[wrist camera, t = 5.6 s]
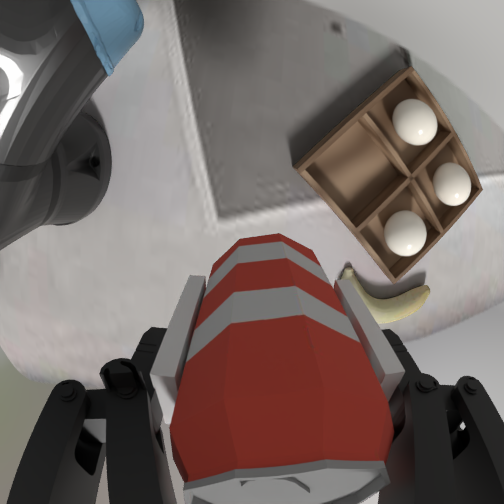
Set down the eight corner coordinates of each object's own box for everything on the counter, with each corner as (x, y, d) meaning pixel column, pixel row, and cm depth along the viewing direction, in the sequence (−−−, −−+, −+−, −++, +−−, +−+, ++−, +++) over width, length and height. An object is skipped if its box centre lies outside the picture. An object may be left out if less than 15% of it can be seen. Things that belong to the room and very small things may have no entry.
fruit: (406, 319, 40) (415, 330, 37) (326, 309, 38) (332, 322, 35) (424, 281, 37) (435, 291, 34) (344, 264, 36) (352, 275, 33)
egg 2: (369, 225, 33) (388, 241, 28) (398, 196, 31) (422, 207, 26) (390, 254, 34) (410, 272, 29) (418, 227, 33) (441, 241, 28)
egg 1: (375, 117, 28) (398, 114, 23) (402, 92, 26) (427, 87, 21) (402, 152, 29) (427, 157, 24) (427, 127, 28) (453, 128, 23)
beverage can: (293, 209, 14) (406, 409, 3) (334, 304, 16) (410, 489, 5) (190, 258, 15) (102, 469, 4) (244, 341, 17) (240, 530, 6)
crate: (292, 166, 31) (297, 169, 28) (399, 70, 26) (411, 66, 23) (384, 274, 36) (393, 284, 33) (470, 185, 31) (482, 189, 28)
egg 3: (418, 177, 30) (443, 185, 25) (441, 151, 29) (468, 156, 24) (436, 208, 32) (460, 220, 27) (458, 183, 31) (483, 192, 25)
